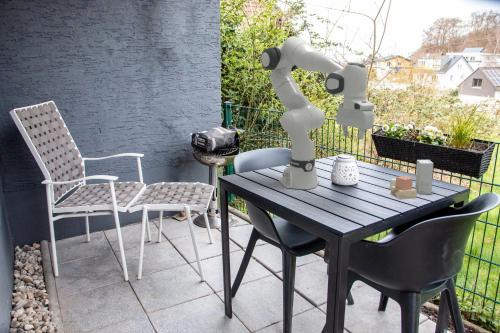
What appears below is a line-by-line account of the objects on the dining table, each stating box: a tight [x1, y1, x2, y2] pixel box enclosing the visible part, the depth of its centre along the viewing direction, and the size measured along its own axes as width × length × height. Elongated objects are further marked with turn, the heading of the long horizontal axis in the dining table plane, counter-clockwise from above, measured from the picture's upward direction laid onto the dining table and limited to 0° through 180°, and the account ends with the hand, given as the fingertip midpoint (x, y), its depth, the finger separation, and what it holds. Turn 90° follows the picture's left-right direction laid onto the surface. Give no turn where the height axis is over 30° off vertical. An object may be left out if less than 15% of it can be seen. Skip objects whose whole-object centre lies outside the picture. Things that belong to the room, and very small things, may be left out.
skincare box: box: [414, 159, 434, 195], centre depth 177 cm, size 8×6×15 cm
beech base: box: [390, 186, 418, 200], centre depth 173 cm, size 8×8×4 cm
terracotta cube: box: [395, 175, 414, 191], centre depth 172 cm, size 5×5×5 cm
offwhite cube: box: [389, 177, 396, 190], centre depth 183 cm, size 5×5×5 cm
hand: (352, 137), depth 158 cm, fingers open, 8 cm apart
